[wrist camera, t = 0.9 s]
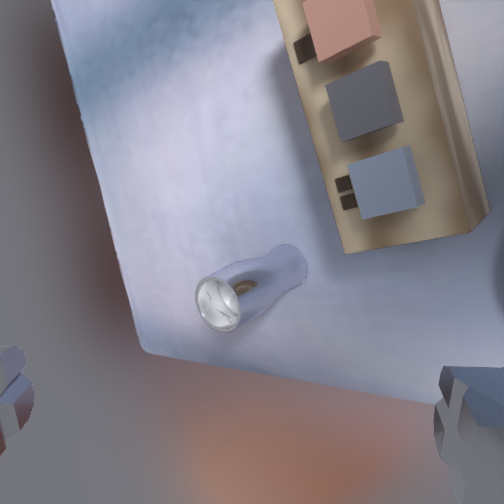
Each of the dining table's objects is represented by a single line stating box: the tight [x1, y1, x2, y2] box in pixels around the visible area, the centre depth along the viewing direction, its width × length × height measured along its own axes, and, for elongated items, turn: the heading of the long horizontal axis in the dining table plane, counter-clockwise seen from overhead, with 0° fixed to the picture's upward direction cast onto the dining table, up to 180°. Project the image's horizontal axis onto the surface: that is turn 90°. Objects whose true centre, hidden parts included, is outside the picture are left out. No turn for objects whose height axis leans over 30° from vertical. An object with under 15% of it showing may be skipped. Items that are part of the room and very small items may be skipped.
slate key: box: [347, 145, 425, 220], centre depth 39 cm, size 5×5×2 cm
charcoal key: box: [325, 60, 404, 142], centre depth 39 cm, size 5×5×2 cm
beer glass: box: [195, 244, 307, 332], centre depth 56 cm, size 7×7×15 cm
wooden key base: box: [273, 0, 490, 254], centre depth 44 cm, size 12×26×9 cm, turn 22°
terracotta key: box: [302, 0, 382, 63], centre depth 38 cm, size 5×5×2 cm
